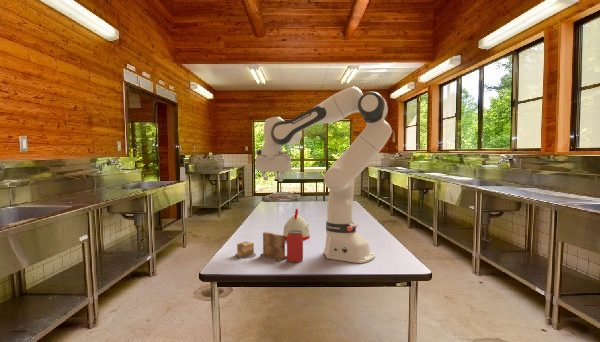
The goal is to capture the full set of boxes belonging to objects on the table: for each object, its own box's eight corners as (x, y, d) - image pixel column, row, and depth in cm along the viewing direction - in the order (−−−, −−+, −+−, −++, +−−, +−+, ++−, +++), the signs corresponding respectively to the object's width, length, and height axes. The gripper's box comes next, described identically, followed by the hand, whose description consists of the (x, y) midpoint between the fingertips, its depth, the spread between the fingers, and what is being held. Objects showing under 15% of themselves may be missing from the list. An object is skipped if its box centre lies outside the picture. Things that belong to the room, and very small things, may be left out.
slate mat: (260, 254, 147) (260, 254, 147) (244, 259, 140) (244, 259, 140) (245, 250, 153) (245, 250, 153) (230, 255, 146) (230, 255, 146)
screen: (287, 258, 142) (287, 234, 141) (279, 261, 138) (279, 237, 137) (268, 253, 149) (268, 231, 148) (260, 256, 145) (260, 233, 144)
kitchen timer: (310, 234, 184) (310, 207, 183) (308, 241, 170) (308, 211, 170) (285, 234, 185) (285, 207, 185) (281, 240, 172) (281, 211, 171)
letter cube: (253, 254, 147) (253, 242, 147) (245, 257, 143) (245, 244, 143) (245, 252, 150) (245, 240, 150) (237, 255, 146) (237, 242, 146)
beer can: (294, 257, 144) (294, 229, 143) (306, 260, 140) (306, 231, 139) (283, 260, 139) (283, 231, 138) (295, 264, 135) (296, 234, 134)
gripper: (294, 151, 156) (294, 181, 157) (262, 151, 169) (262, 179, 169) (285, 151, 151) (285, 182, 152) (253, 151, 164) (253, 180, 164)
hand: (273, 180), depth 161 cm, fingers open, 8 cm apart
